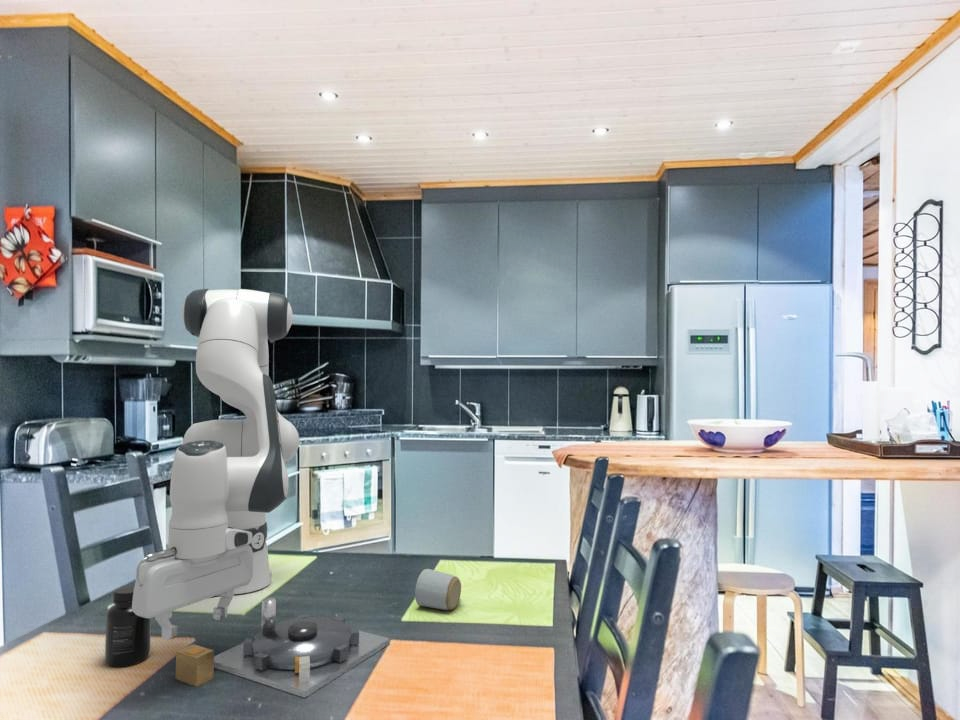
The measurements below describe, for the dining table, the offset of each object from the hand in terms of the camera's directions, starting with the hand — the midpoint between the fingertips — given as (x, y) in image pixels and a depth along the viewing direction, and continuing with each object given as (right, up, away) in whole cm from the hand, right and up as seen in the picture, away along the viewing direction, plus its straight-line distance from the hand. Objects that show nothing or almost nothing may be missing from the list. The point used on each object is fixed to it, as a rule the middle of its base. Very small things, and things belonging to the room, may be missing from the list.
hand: (195, 627), depth 99 cm
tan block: (0, -8, 0) cm, 8 cm away
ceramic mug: (+38, -10, +34) cm, 52 cm away
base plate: (+15, -9, +9) cm, 19 cm away
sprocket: (+15, -7, +9) cm, 19 cm away
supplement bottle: (-15, -9, +7) cm, 18 cm away
